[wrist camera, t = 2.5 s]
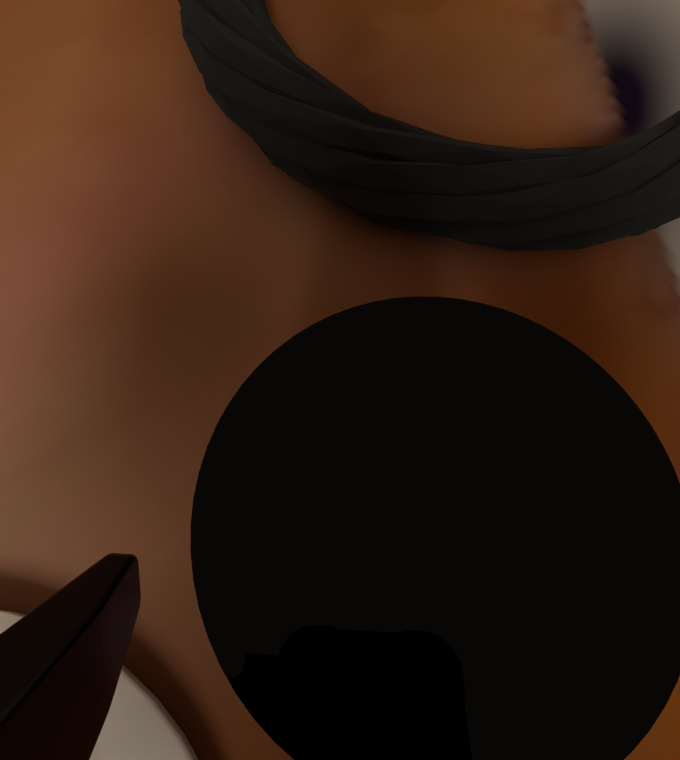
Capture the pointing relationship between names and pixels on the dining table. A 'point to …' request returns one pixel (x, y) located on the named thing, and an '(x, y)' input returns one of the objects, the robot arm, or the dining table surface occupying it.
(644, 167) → the cable lock
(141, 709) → the round tray
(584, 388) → the supplement container
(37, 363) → the dining table surface
